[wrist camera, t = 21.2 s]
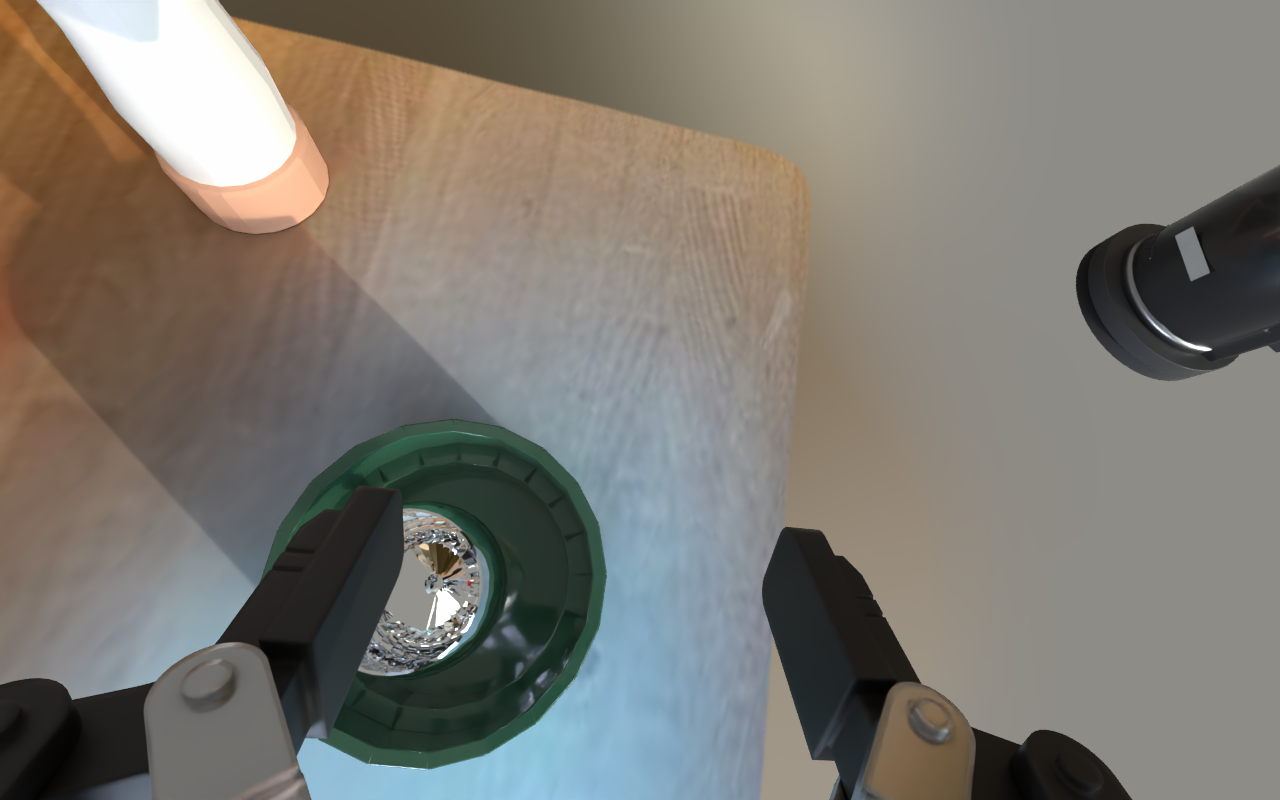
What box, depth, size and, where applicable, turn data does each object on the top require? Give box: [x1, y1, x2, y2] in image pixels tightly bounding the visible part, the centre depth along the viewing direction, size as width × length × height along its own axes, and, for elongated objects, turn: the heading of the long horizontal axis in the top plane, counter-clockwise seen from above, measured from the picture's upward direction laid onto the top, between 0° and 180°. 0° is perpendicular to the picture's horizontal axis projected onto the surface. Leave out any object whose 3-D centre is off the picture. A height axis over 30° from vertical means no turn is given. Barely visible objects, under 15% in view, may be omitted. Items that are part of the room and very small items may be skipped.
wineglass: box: [358, 501, 509, 680], centre depth 22 cm, size 6×6×12 cm
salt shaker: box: [36, 0, 329, 234], centre depth 23 cm, size 7×7×19 cm
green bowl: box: [260, 419, 607, 770], centre depth 25 cm, size 14×14×6 cm
